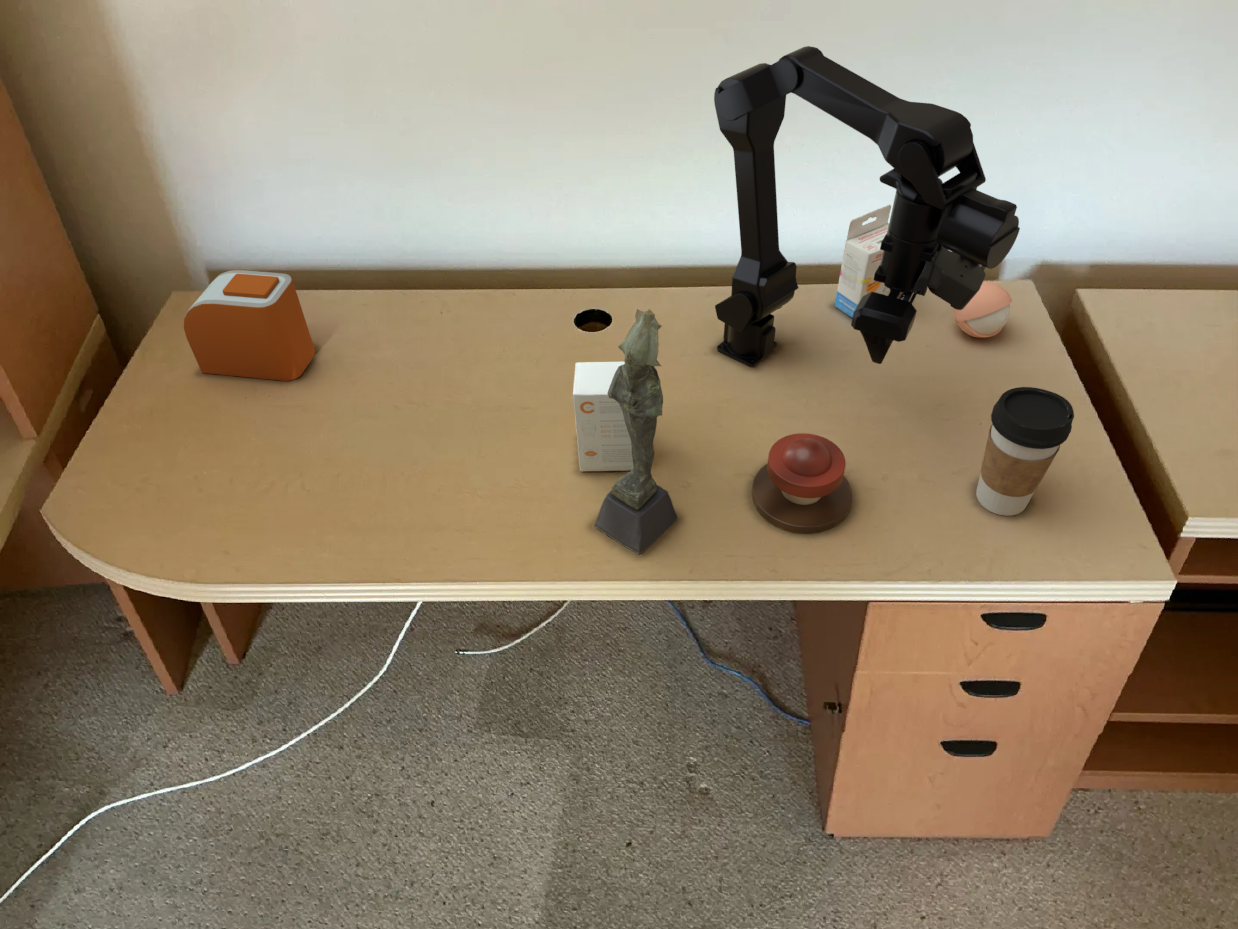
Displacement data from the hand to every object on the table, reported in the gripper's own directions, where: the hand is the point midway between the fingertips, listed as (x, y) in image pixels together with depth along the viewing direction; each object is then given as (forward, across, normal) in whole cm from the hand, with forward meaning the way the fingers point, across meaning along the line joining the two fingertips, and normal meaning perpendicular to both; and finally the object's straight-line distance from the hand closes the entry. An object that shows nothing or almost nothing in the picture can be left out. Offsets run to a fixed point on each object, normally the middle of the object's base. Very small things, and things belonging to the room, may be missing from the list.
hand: (888, 340), depth 115 cm
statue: (+14, -30, +20) cm, 38 cm away
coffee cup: (+13, -6, -18) cm, 24 cm away
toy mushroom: (+13, -17, +3) cm, 22 cm away
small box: (+14, -21, +28) cm, 37 cm away
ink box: (+14, +25, +8) cm, 30 cm away
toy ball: (+14, +26, -8) cm, 30 cm away
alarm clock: (+15, -26, +83) cm, 88 cm away
